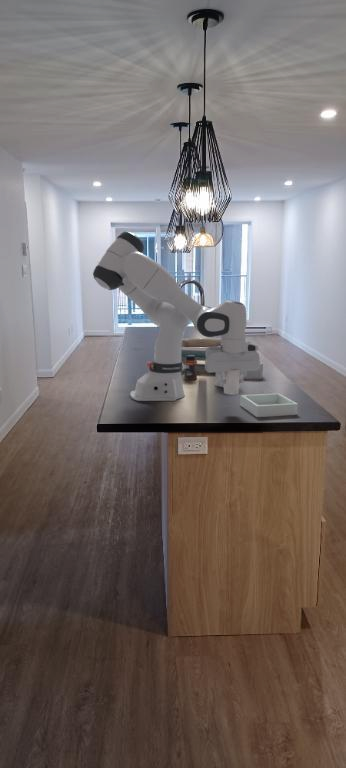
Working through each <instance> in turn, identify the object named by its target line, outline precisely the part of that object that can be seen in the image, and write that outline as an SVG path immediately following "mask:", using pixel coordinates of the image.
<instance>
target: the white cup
mask: <svg viewBox="0 0 346 768" xmlns="http://www.w3.org/2000/svg"><path fill="white" fill-rule="evenodd" d="M224 379H225V384H224V387H223V394H226V395H231V396H234V395H235V396H236V395H238V394H240V383H239V380H240V370H238V369H236V370H228V372H224Z"/></svg>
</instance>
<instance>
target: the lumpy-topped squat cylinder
mask: <svg viewBox="0 0 346 768" xmlns="http://www.w3.org/2000/svg"><path fill="white" fill-rule="evenodd" d="M263 371H264V363H263V362H262V360H260V367H259V369H258V370H257V371H247V374H246V376H245V377H244V379H243V380H260V379H261V380H262V379H263V374H264V373H263ZM241 375H242V373H241V371H240V377H241Z"/></svg>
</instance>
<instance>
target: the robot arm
mask: <svg viewBox="0 0 346 768" xmlns="http://www.w3.org/2000/svg"><path fill="white" fill-rule="evenodd" d="M144 249H145V247H144V242H143V241H142V240H141V238H139V237H138V236H137V235H136V234H135V233H132V232H130V231H123V232H121V233H120V234H119V235H118V236H117V237H116V239H115V240H114V241H113V242H112V243H111V244H110V246H109V247H108V248H107V249H106V251H105V253H104V254H103V256H102V257H101V258H100V261H99V262H98V264H97V265H96V266H95V268H94V269H93V273H92V274H93V278H94V280H95V281H96V283H97V284H98V285H99V287H102V288H103V289H106V290H108V291H113V290H116V289H118V290H120V291H121V292H122V294H124V295H125V296H127V298H128V299H129V300H131V301H132V302H133V304H135V305H136V306H138V308H139V309H140V310H141V311H142V313H143V314H144V315H145V316H146V318H148V320H149V321H150V322H151V323H152V324H153V325H155V326H158V327H159V331H158V335H157V337H156V338H157V339H156V340H155V341H154V350H153V351H154V354H153V355H154V361H152V362H151V361H147V362H146V366H147V367H149V370H148V372H146V373H145V374H144V375H142V376H141V377H140V378H138V379H137V381H136V383H135V384H136V385H135V389H134V390H132V391H130V394H129V396H130V398H131V399H132V400H135V401H138V402H155V401H156V402H168V401H169V402H171V401H174V402H175V401H177V400H179V399H181V398H184V397H185V395H186V394H185V392H184V391H185V390H184V387H183V386H184V385H183V378H182V375H183V372H184V371H183V370H184V368H183V367H184V366H183V365H184V364H183V363H182V362H181V356H182V353H181V352H182V347H183V346H182V345H183V340H184V336H185V333H186V332H185V331H186V329H187V327H188V326H189V325H190V323H192V325H193V327H194V328H195V330H197V332H199V334H201V336H204V337H206V338H214V337H219V336H220V345H218V346H213V345H212V346H209V347H208V348H207V349H206V351H205V357H206V361H204V364H205V370H206V371H207V372H206V373H208V372H209V373H210V374H211V372H215V373H216V372H217V374H218V376H219V378H220V383H221V384H225V379H224V378H223V377H222V376H221V375H223V372H228V370H236V369H238V370H240V371H241V373H242V375H241V377H240V380H239V384H244V380H245V379H244V377H245V376H246V374H247V371H257V370H258V369H259V367H260V361H261V358H260V354H259V352H258V351H259V346H258V345H257V344H255V343H252V342H250V341H247V339H246V338H247V337H246V328H247V310H246V309H247V308H246V306H245V304H243V303H242V302H240V301H236V300H232V299H226V300H224V301H222V303H220V304H218V305H216V306H214V307H212V306H211V307H210V306H206V305H204V304H203V305H202V304H200V302H197V301H196V300H195V299H193V298H192V297H191V296H190V295H188V294H187V293H186V292H184V291H183V290H182V288H181V287H180V286H179V284H178V283H177V280H176V279H175V277H174V276H173V275H172V274H171V273H170V272H169V270H167V269H166V268H165V267H163V265H161V264H160V263H158V262H157V261H156V260H154V259H152V258H151V257H150V256H148V255H146V254H144V253H143V252H144ZM208 349H210V350H208Z"/></svg>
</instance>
